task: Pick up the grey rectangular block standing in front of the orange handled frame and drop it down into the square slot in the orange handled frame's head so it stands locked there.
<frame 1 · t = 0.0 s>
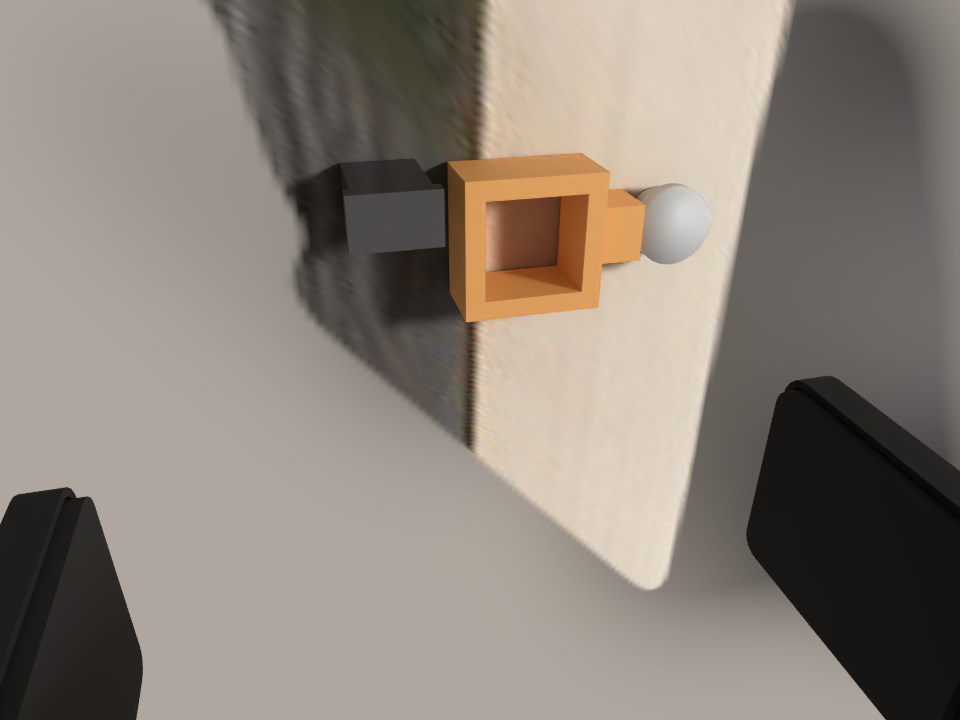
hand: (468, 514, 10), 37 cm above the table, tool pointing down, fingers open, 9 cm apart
orange handled frame: (587, 218, 49), on the table
grey rectangular block: (379, 187, 45), on the table
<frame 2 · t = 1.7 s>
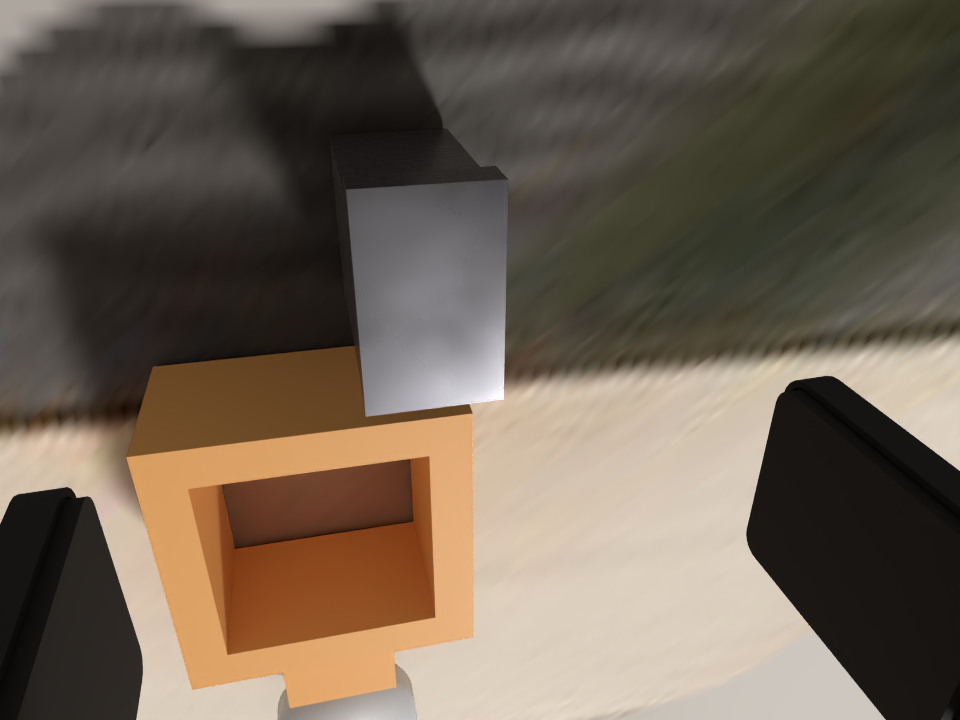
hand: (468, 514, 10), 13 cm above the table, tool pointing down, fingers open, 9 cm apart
orange handled frame: (331, 574, 27), on the table
grey rectangular block: (393, 210, 21), on the table
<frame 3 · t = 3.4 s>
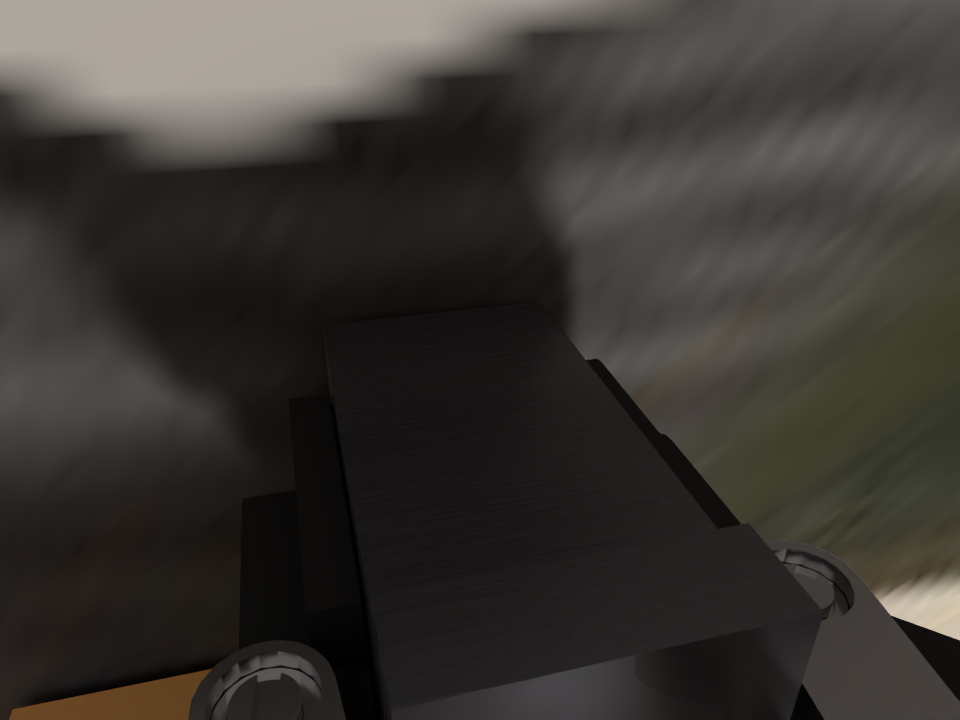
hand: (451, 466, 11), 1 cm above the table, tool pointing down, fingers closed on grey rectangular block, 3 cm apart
grey rectangular block: (438, 437, 12), on the table, touching gripper
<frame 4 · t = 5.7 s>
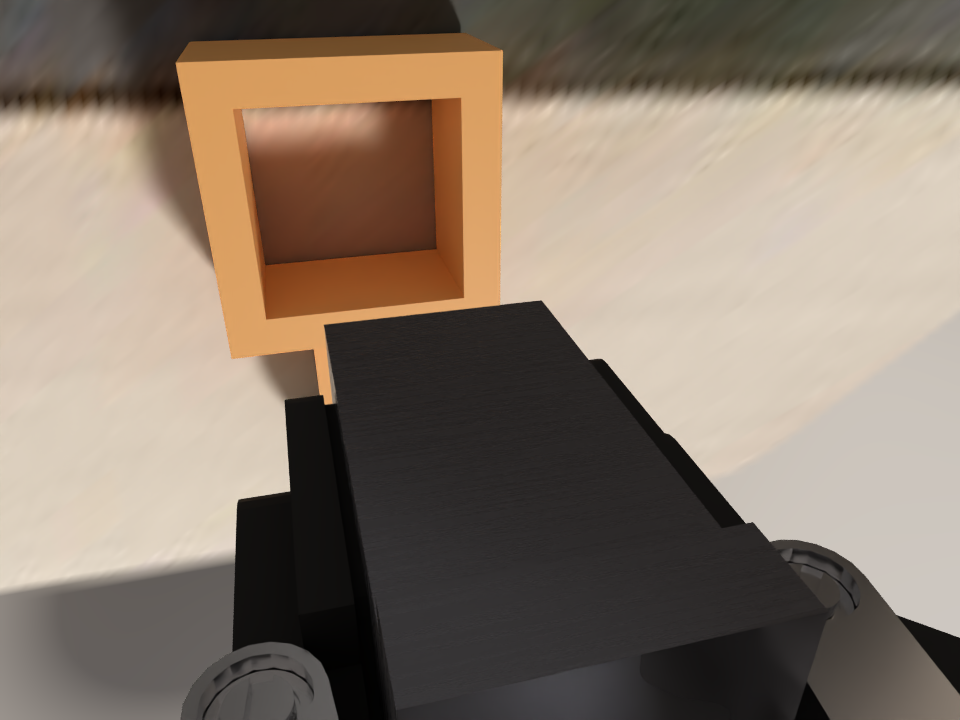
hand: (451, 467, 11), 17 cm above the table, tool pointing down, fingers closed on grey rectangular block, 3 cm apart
orange handled frame: (357, 304, 28), on the table
grey rectangular block: (440, 437, 12), point 16 cm above the table, touching gripper
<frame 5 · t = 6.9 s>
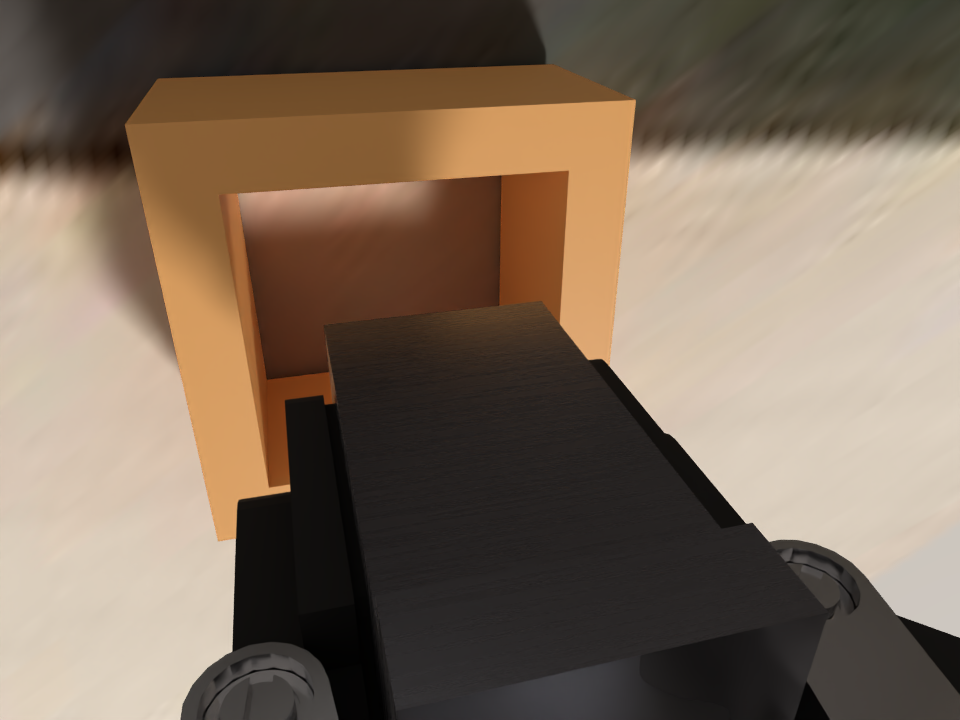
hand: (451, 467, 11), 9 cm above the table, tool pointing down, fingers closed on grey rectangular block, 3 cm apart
orange handled frame: (390, 424, 21), on the table
grey rectangular block: (439, 437, 12), point 8 cm above the table, touching gripper
when the fingers open (5 cm above the table, at t = 7.9 s): grey rectangular block drops 4 cm, resting in orange handled frame.
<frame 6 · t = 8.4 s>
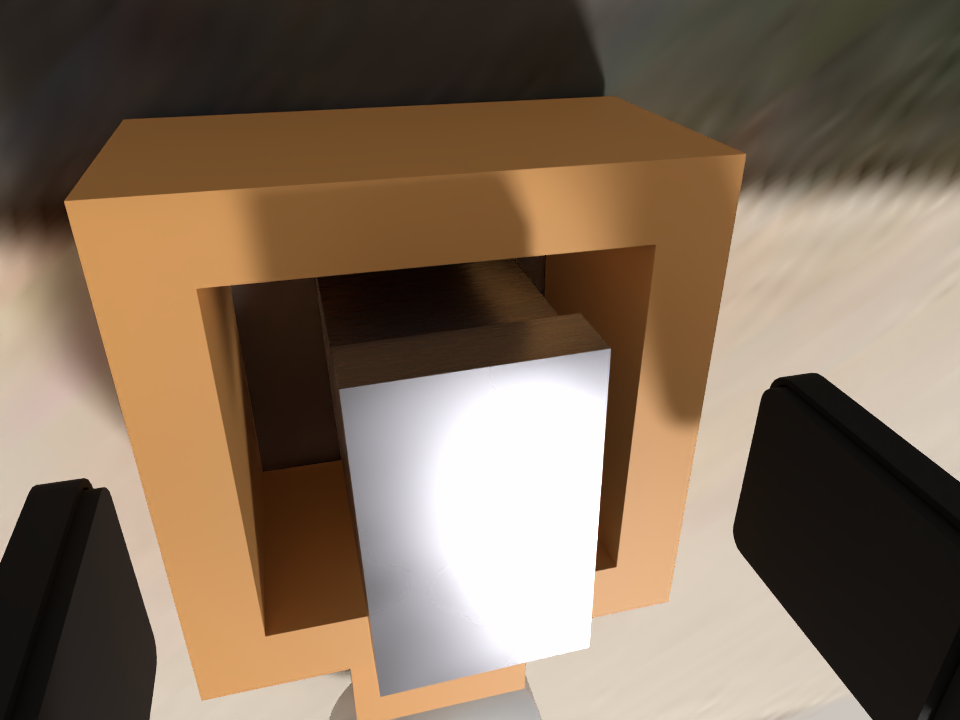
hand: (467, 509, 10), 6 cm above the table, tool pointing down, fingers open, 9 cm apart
orange handled frame: (409, 516, 18), on the table
grey rectangular block: (402, 324, 15), resting in orange handled frame
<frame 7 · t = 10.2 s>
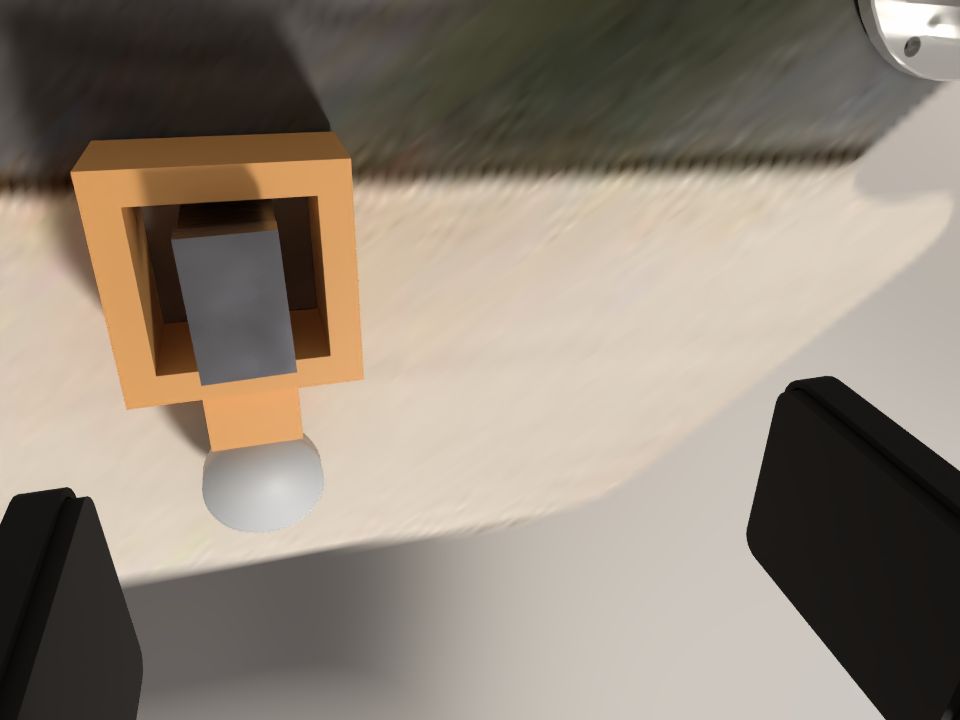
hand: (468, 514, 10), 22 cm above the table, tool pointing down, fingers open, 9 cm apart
orange handled frame: (248, 356, 32), on the table
grey rectangular block: (234, 245, 30), resting in orange handled frame
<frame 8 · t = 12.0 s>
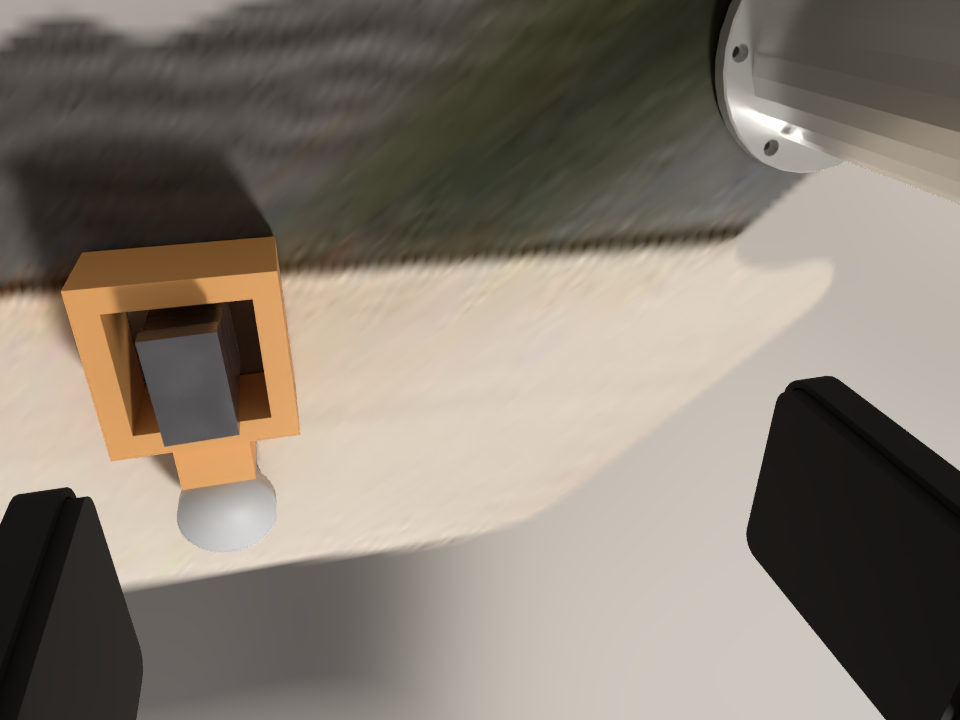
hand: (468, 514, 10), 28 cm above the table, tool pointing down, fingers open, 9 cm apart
orange handled frame: (214, 409, 40), on the table
grey rectangular block: (199, 325, 38), resting in orange handled frame
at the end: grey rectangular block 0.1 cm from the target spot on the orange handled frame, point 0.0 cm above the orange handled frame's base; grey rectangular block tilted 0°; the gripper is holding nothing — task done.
